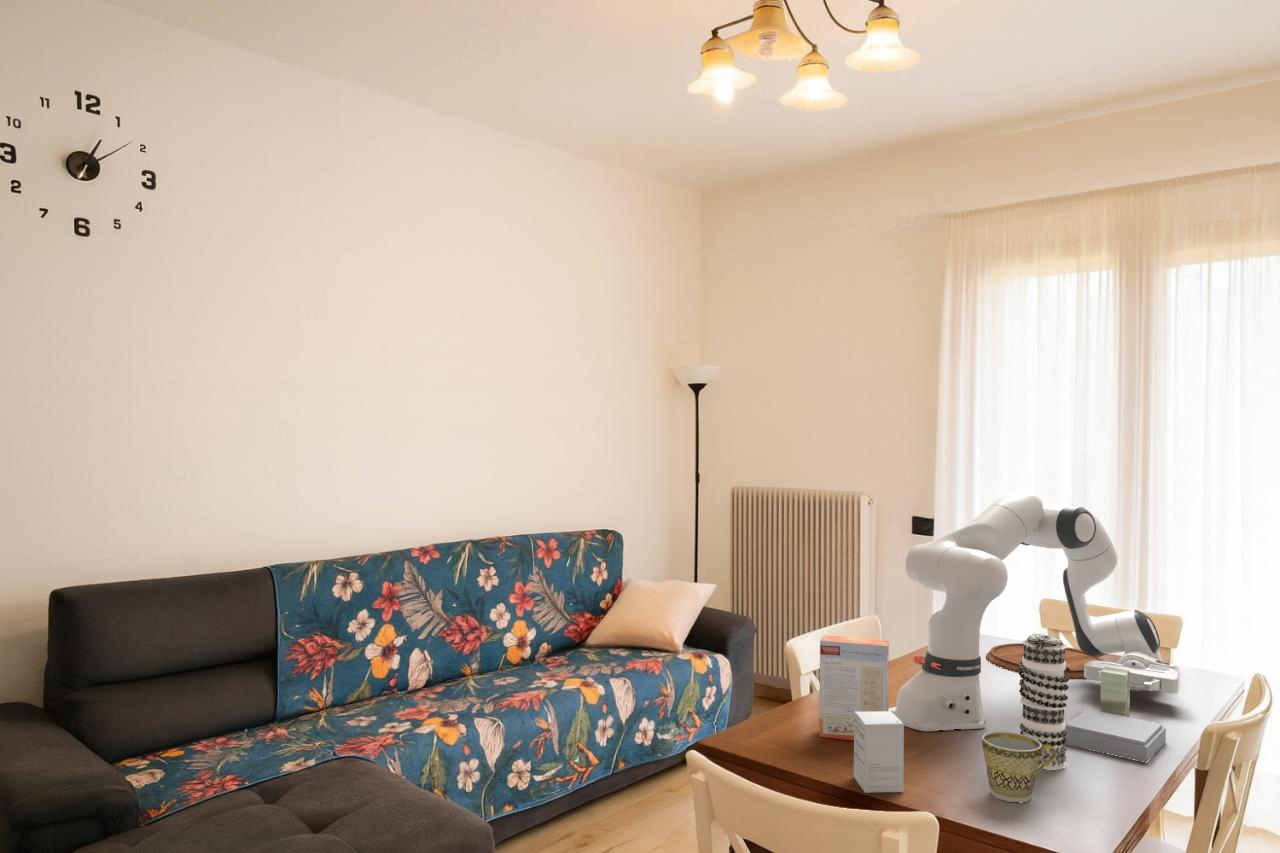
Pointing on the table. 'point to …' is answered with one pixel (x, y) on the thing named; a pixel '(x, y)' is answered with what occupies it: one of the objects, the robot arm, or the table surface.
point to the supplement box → (878, 751)
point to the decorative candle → (1044, 695)
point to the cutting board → (1013, 654)
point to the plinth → (1115, 734)
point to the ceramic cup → (1012, 764)
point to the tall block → (1115, 691)
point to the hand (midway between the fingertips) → (1125, 683)
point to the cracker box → (851, 682)
